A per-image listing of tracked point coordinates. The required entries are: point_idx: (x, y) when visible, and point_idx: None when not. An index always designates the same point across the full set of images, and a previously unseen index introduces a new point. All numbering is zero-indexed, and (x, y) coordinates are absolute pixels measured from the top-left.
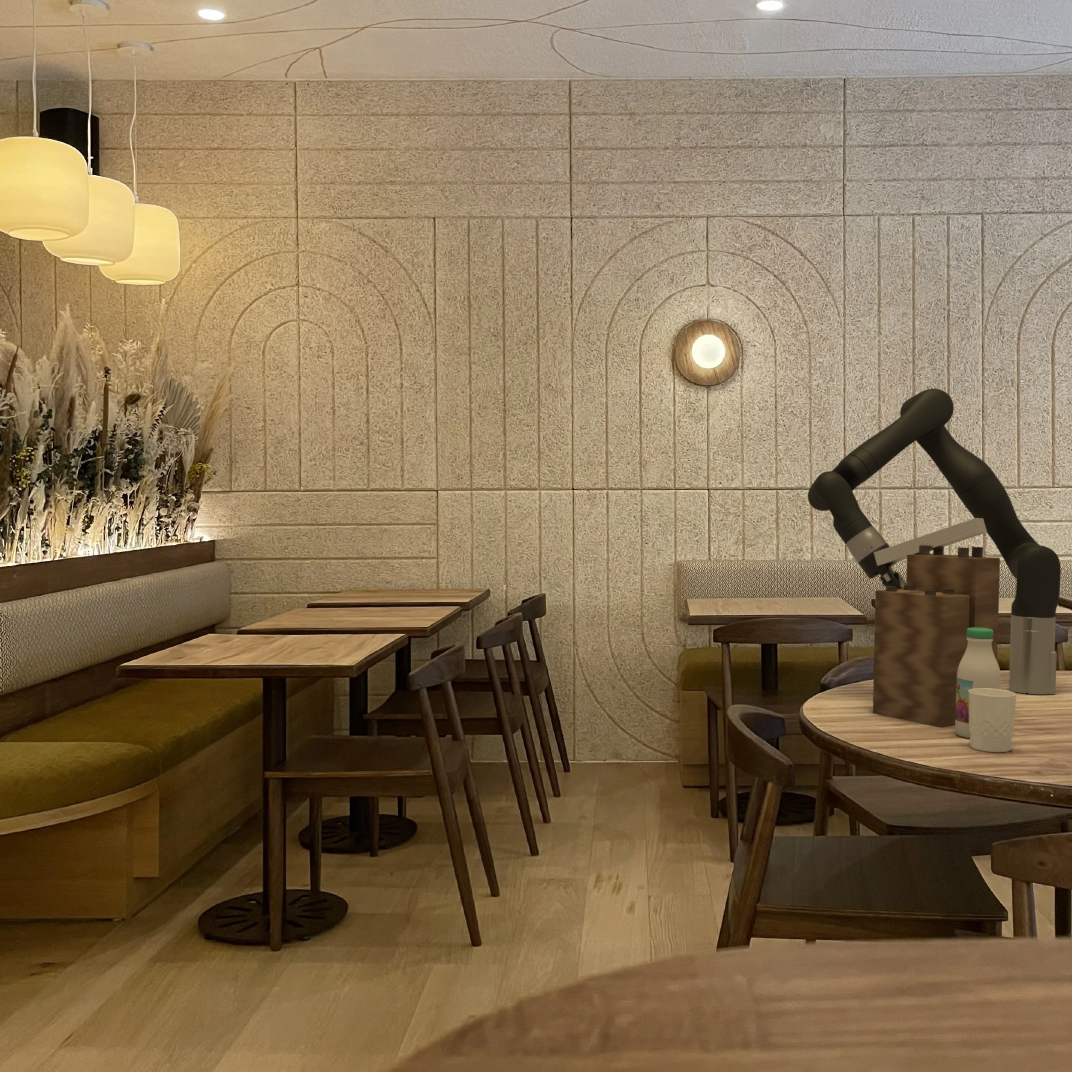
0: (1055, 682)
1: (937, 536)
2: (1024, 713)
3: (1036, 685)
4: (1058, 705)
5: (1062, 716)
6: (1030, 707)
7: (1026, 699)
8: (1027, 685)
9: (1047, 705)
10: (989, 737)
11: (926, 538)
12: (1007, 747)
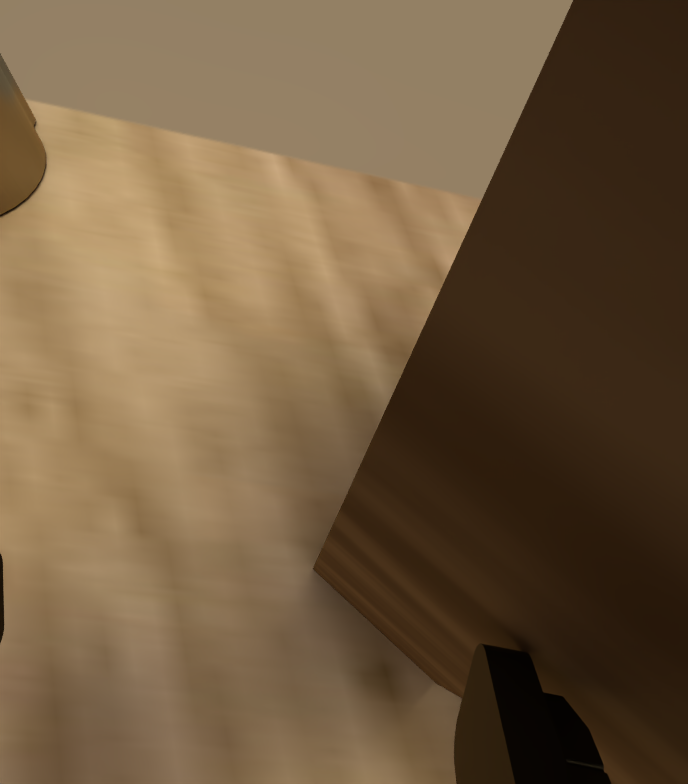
0: (16, 83)
1: None
2: (392, 268)
3: (31, 143)
4: (226, 154)
5: (405, 184)
6: (281, 231)
7: (133, 212)
8: (21, 167)
9: (233, 180)
10: None
11: None
12: None
